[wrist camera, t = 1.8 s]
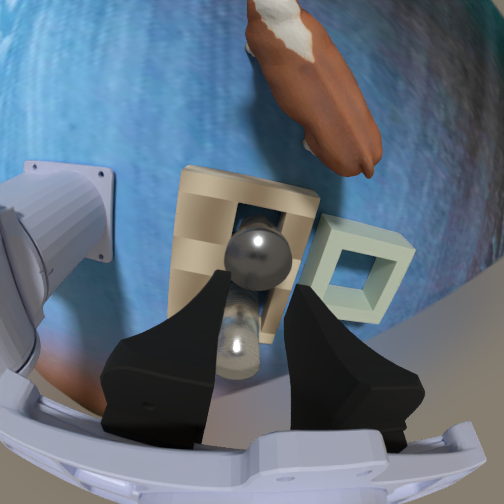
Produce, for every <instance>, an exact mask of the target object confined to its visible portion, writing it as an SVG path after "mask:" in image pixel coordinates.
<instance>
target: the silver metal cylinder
mask: <svg viewBox="0 0 504 504" xmlns="http://www.w3.org/2000/svg"><path fill="white" fill-rule="evenodd" d="M259 366H260V361H259V311H258V291H252V290H247V289H245V288H242V287H240V286H238V285H237V284H235V283H234V282H233V281H232V280H231V282H230V286H229V291H228V296H227V301H226V306H225V310H224V315H223V320H222V325H221V330H220V333H219V337H218V347H217V359H216V374H218V375H219V376H221V377H224V378H227V379H231V380H242V379H247V378H249V377H252V376H253V375H255V374H256V373H257V371H258V370H259Z"/></svg>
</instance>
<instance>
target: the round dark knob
mask: <svg viewBox="0 0 504 504" xmlns="http://www.w3.org/2000/svg"><path fill="white" fill-rule="evenodd" d="M224 266H225V270H226V271H230V272H231V280H232V281H233V282H234V283H235V284H237V285H238V286H240V287H242V288H245V289H247V290H252V291H264V290H268V289H271V288H274V287H276V286H278V285H279V284H281V283H282V282H283V281H284V280H285V279H286V278H287V276H288V275H289V273H290V271H291V268H292V254H291V250H290V246H289V243H288V241H287V240H286V238H285V237H284V236H283V235H282V234H281V233H280V232H279V231H277V230H276V228H275V225H274V223H273V221H272V220H271V219H270V218H268V217H267V216H264V215H261V214H254V215H250V216H248V217H246V218H245V219H244V220H243V221H242V223H241V224H240V227H239V231H238V232H236V233H235V234H234V235H233V236H232V237H231V238H230V240H229V242H228V244H227V246H226V250H225V256H224Z"/></svg>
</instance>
